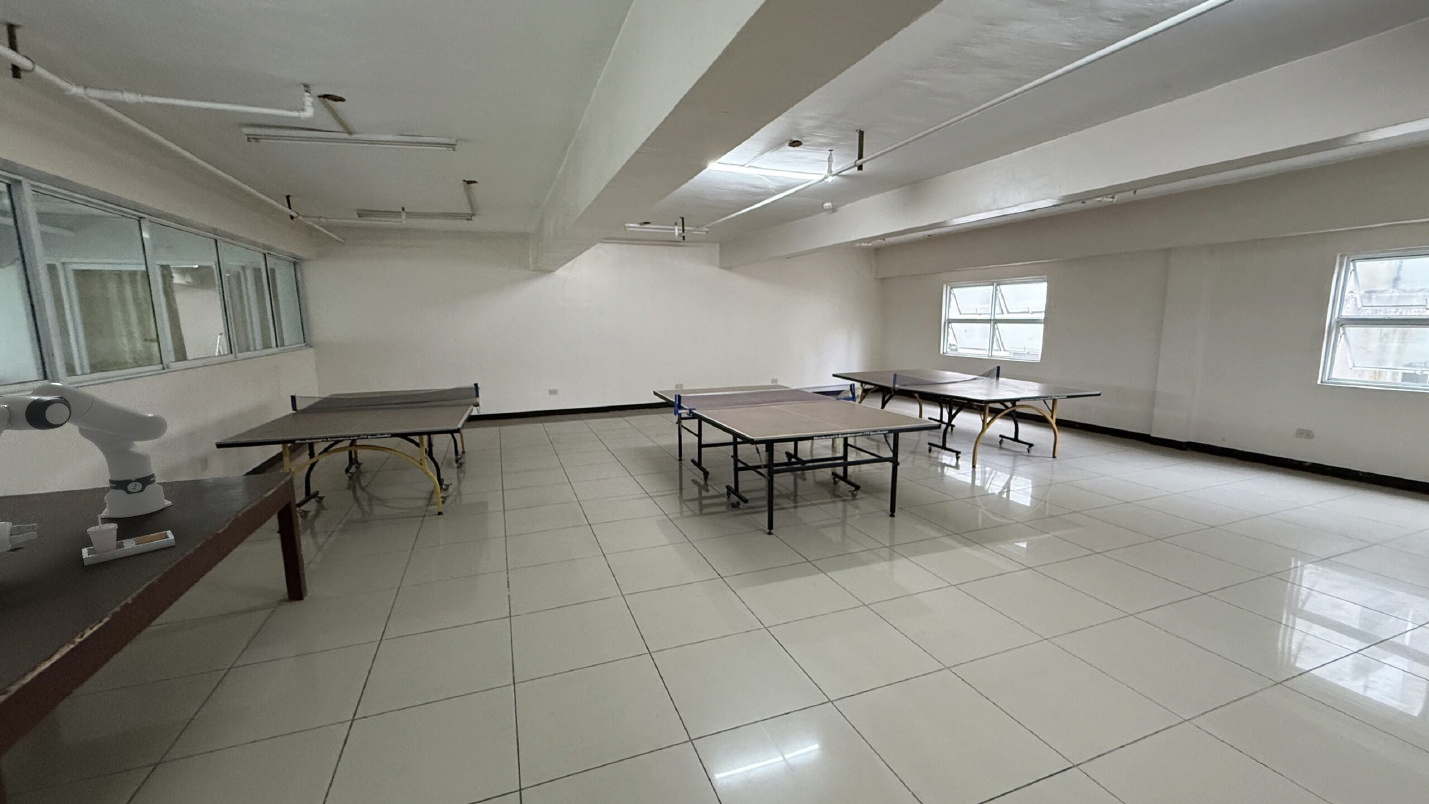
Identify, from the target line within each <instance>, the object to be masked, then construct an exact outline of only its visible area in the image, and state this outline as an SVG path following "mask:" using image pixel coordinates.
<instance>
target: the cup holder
mask: <svg viewBox="0 0 1429 804" xmlns="http://www.w3.org/2000/svg"><path fill="white" fill-rule="evenodd" d="M173 546H176V541H175V537H174V535H173V533H172V531H171V530H166V531H161V532H156V533H151V534H146V535H141V536H136V537H131V538H128V539H122V540H119V541H117V540H116V550H113V551H108V552H104V553H99V554H97V553H96V550H95V548H94V546H90V547H84V548H81V552H82V559H83V563H84V566H88V565H94V564H98V563H103V562H107V561H110V560H115V559H119V558H124V557H128V556H133V555H138V554H142V553H145V552H146V553H147V552H151V551H155V550H159V549H164V548H168V547H173Z"/></svg>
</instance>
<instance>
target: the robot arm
mask: <svg viewBox="0 0 1429 804" xmlns="http://www.w3.org/2000/svg"><path fill="white" fill-rule="evenodd" d="M66 423H68V424H70V425H73V426H76V427H78V432H79V435H80V436H81V437H82V438H84V439H86V440H88V441H90V443H92V444H94V445H95V446H96V447H97V449H98V450H99V451H100V452H101V454H102V455H103V456H104V458H105V460H106V461H105V462H106V463H107V469H108V474H109V479H108V485H109V489H110V491H109V492H108V493H107V494H105V496H104V503H106V504H105V509H104V510H103V511H102V513H101V514H100V518H101V519H104V518H105V519H106V518H107V519H109V518H128V517H134V516H135V517H136V516H141V515H142V516H143V515H146V514H150V513H155V512H157V511H159V510H161V509H164V508H167V507H170V506H172V505H173V503H172V501H169V500H167V499H165V495H164V489H163V486H162V485H160V484H158V483H157V480H156V474H155V473H154V472H153V465H152V460H151V455H150V453H149V452H148V451H146V450H144V449H141V448H140V447H139V446H138V445H137V444H136V443H137V442H138V443H139V442H141V443H142V442H148V441H154V440H158V439H161V438H162V437H164V436H165V434H166V433H167V429H168V424H167V423H168V422H167V420H166V419H165V418H164V417H163V416H161V415H159V414H155V413H149V412H145V411H141V410H139V409H134V408H131V407H128V406H124V405H120V404H116V403H112V402H110V401H107V400H105V399H103V398H100V397H98V396H95V395H93V394H91V393H88V392H87V391H85V390H82V389H79V388H77V387H74V386H71V385H67V384H63V383H60V382H47V383H43V384H41V385H38V386H36V388H34V389H33V390H32V391H31V393H30V395H8V396H7V395H5V396H4V395H0V437H1V436H2V434H3V433H4V431H7V430H8V431H39V430H40V431H48V430H54V429H58V428H61V427H63V426H65V424H66ZM135 442H136V443H135ZM38 528H39V527H38V524H37V523H31V524H16V525H13V523H12V522H11V521H3V522H0V553H3V552H7V551H9V550H11V547H12V545H16V544H17V545H18V544H21V543H24V542H26V541H30V540H34V539H37V538H38V533H37V530H38ZM24 532H26V533H24ZM20 533H23V534H20ZM14 534H18V535H14Z"/></svg>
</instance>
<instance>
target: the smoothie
mask: <svg viewBox="0 0 1429 804" xmlns="http://www.w3.org/2000/svg"><path fill="white" fill-rule="evenodd" d="M100 515H101V514H99V513H98V514H97V515H96V516H97V522H98V525H94V526H92V527H89V528H87V530H86V533H87V534H88V535H89V537H90V540H91V542H92V545H93V547H94V548H95V550H96V553H97V554H99V553H104V552H108V551H113V550H116V542H117V529H118V528H119V526H118V524H117V523H104V524H102V518H100Z"/></svg>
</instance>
